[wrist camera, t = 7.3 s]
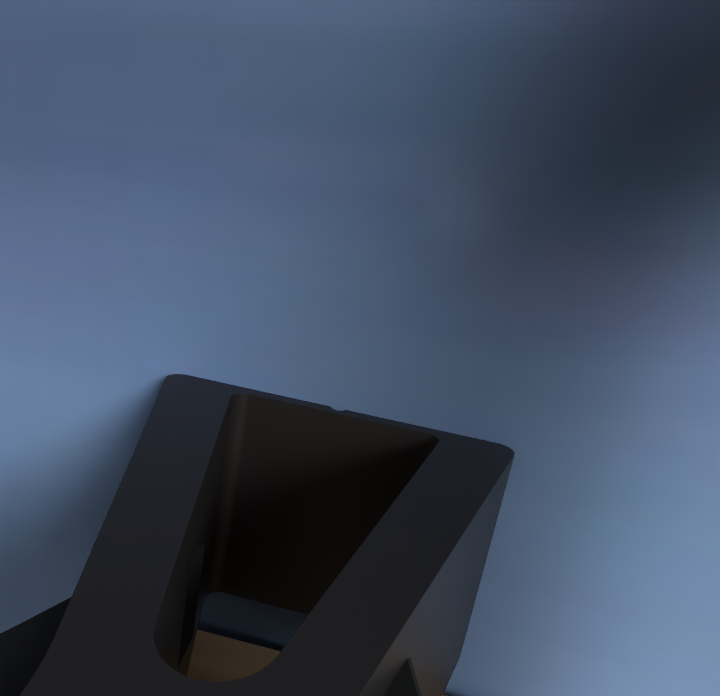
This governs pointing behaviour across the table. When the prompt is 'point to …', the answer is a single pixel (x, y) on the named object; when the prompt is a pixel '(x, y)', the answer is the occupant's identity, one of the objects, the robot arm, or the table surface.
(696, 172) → the table surface
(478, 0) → the table surface
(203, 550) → the robot arm
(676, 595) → the table surface
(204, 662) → the door
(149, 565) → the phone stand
